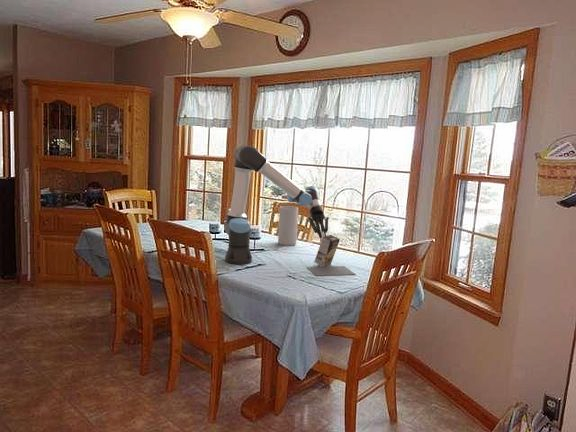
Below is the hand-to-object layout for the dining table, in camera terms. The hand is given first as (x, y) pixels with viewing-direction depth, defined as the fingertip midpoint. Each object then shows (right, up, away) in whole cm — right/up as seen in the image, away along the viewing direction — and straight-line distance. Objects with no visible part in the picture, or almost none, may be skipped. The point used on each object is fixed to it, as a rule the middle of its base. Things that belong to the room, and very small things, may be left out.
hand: (324, 242), depth 252 cm
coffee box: (-1, -12, -1) cm, 12 cm away
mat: (+2, -15, -13) cm, 20 cm away
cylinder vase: (-21, -4, +49) cm, 53 cm away
